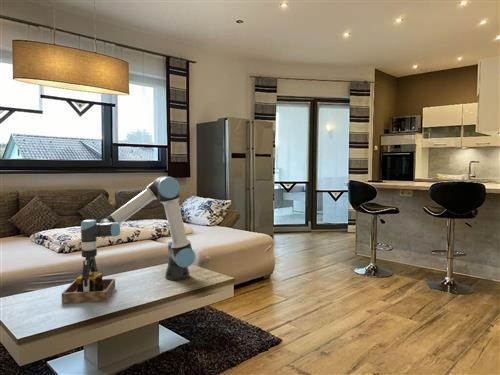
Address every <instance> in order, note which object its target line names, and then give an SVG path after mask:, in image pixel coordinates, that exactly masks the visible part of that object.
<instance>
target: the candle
mask: <svg viewBox="0 0 500 375" xmlns="http://www.w3.org/2000/svg"><path fill="white" fill-rule="evenodd" d="M103 274H104V273H102V272H96V273H89V279H88V280H89V292H96V291H103V282H102V279H103ZM85 278H86V277H85ZM81 279H82V274H80V276H78V277H77V278H76V279H75V280H76V284H77V292H83V281H82V280H81Z"/></svg>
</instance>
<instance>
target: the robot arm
mask: <svg viewBox="0 0 500 375" xmlns="http://www.w3.org/2000/svg"><path fill="white" fill-rule="evenodd" d="M180 187H181V186H180V183H179V182H178V180H177V179H175V178H174V177H172V176H166V175H162V176H159V177H157V178H156V179H155V180H154V181H152V182H151V183H149V184H148V185H147V186H146V187H145V190H143V191H142V192H140V193H139V194H137V195H136V196H134V197H133V198H132V199H130V200H129V201H128V202H127V203H125V204H124V205H122V206H121V207H119V208H118V209H117V210H115V211H114V212H113V213H111V214H110V215H108V216H107V217H105V218H103V219H101V220H100V221H99V223H98V222H97V220H96V219H84V220H82V221H81V222H80V239H81V242H80V245H81V257H82V258H85V260H83V261H82V262H83V263H82V265H83V266H82V274H81V275H82V279H81V280H82V281H83V292H89V280H88V279H89V273H98V268H97V267H98V266H97V260H96V256H98V250H97V248H98V244H97V240H98V238H106V237H107V238H108V237H115V236H116V237H119V236H120V234H121V224H122V223H124V222H126V220H128V219H129V218H131V217H132V216H133V215H134V214H135V213H137V212H138V211H140V210H142V208H144V207H146V206H147V205H149V204H150V203H151V202H152V201H154V200H158V199H159V202H160V203H161V204H162V205H163V207H164V212H165V216H166V220H167V224H168V228H169V232H170V236H171V240H170V241H168V243H167V268H166V270H165V273H164V275H165V276H164V277H165V279H167V280H170V281H181V280H186V279H188V277H189V278H190V270H189V267H190V266H192V265H193V264H194V263H195V260H196V253H195V251H194V250H193V247H192V243H191V241H190V240H189V239H188V237H187V233H186V229H185V224H184V220H183V216H182V211H181V208H180V203H179V202H180V198H181V196H180V195H181V194H180V189H181V188H180ZM85 277H86V278H85Z"/></svg>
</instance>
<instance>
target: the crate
mask: <svg viewBox="0 0 500 375" xmlns="http://www.w3.org/2000/svg"><path fill="white" fill-rule="evenodd" d="M102 282H103V291H96V292H77V284H76V279H75V280H74V281H72V283H70V285H69V286H67V287H66V288H65V290H64V291H62V293H61V304H62V305H72V304H91V303H92V304H93V303H94V304H95V303H107V302H108V301H109V299H110V297H111V296H112V294H113V293H114V291H115V289H116V278H102Z"/></svg>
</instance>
